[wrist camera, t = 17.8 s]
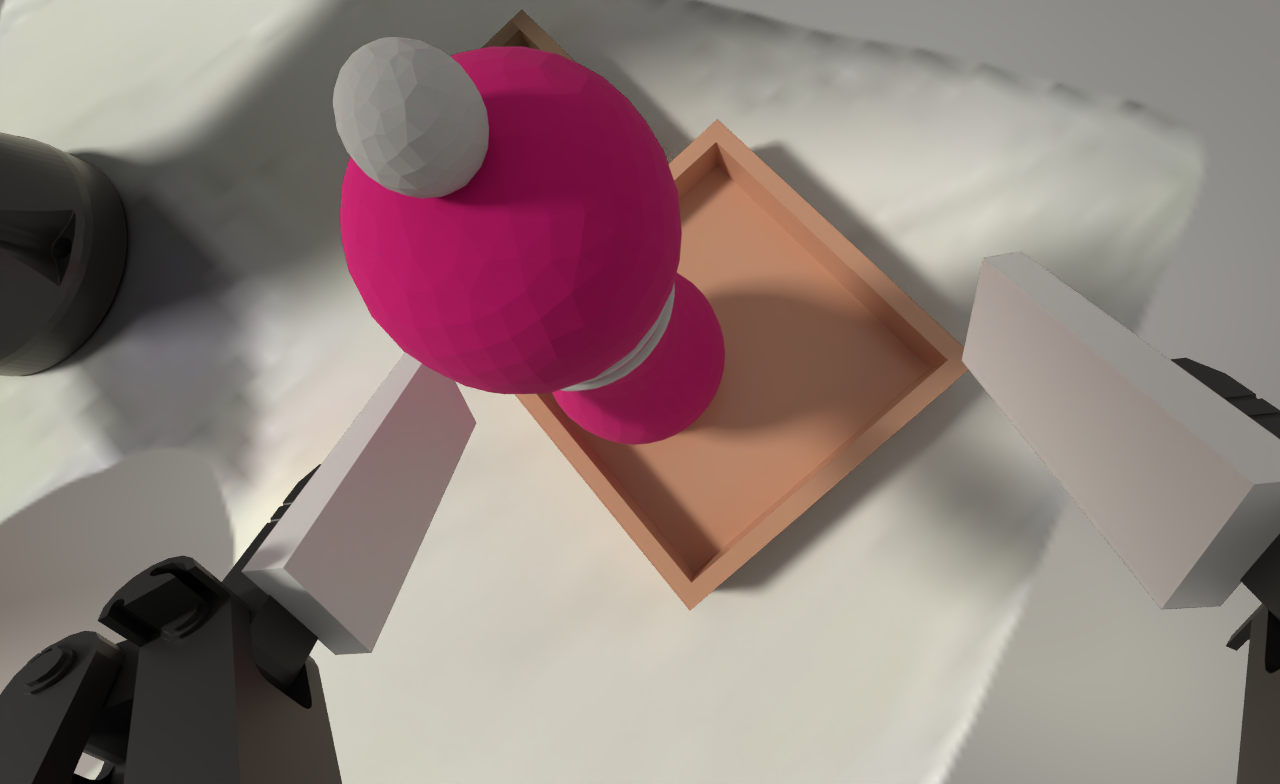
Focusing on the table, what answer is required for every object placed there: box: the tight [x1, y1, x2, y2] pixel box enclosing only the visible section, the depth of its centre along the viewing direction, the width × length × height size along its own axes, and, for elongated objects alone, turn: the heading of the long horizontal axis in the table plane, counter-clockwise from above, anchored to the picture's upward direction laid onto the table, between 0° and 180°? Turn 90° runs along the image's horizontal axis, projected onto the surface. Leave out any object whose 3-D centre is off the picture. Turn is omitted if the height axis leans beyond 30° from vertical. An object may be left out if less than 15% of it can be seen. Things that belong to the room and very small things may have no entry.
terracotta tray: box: [515, 119, 969, 610], centre depth 24 cm, size 16×16×3 cm
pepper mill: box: [333, 37, 725, 445], centre depth 15 cm, size 7×7×20 cm
